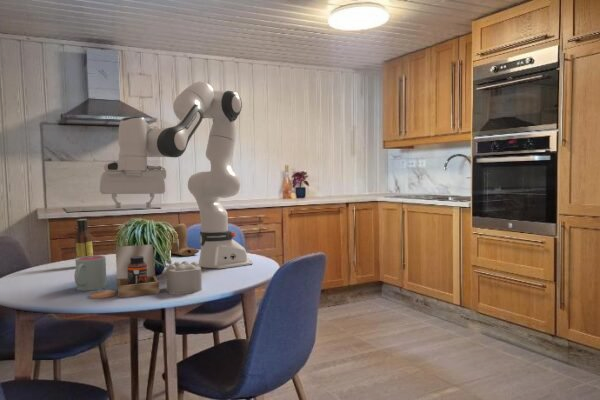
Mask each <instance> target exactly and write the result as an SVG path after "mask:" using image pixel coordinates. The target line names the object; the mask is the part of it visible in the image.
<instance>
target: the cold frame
mask: <svg viewBox="0 0 600 400" xmlns="http://www.w3.org/2000/svg"><path fill="white" fill-rule="evenodd" d="M153 246H154V245H153V244H141V245H139V244H138V245H126V246H125V245H123V246H115V265H116V267H115V268H116V287H117V295H118V298H126V297H135V296H144V295H153V294H154V295H155V294H160V283H159V280H158V279H157V277H156V269H155V258H154V247H153ZM133 256H143V258H144V260H143V261H144V262H145V263H146V264H147V283H141V284H131V285H128V265H129V264H130V262H131V261H130V258H131V257H133Z"/></svg>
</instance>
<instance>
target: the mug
mask: <svg viewBox="0 0 600 400" xmlns="http://www.w3.org/2000/svg"><path fill="white" fill-rule="evenodd" d="M106 261H107V259H106V256H104V255H93V256H85V257H80V258H77V257H76V258H75V270H74V282H75V284H76V290H77V291H85V292H87V291H95V290H96V291H98V290H100V289H101V290H102V289H104V288H106V287H107V267H106V265H107V263H106Z"/></svg>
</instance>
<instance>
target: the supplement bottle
mask: <svg viewBox="0 0 600 400" xmlns="http://www.w3.org/2000/svg"><path fill="white" fill-rule="evenodd" d="M143 260H144V258H143V256H133V257H131V258H130V261H131V262H130V264H129V265H128V285H131V284H141V283H147V264H146V263H145V262H144V261H143Z"/></svg>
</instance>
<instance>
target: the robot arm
mask: <svg viewBox="0 0 600 400" xmlns="http://www.w3.org/2000/svg"><path fill="white" fill-rule="evenodd" d="M172 105H173V106H172V109H173V112H174V114H175V116H176V118H177V119H178V120H179V121H178V123H177V124H176V125H174V126H170V127H165V128H163V127H162V128H154V127H153V126H151V125H150V124H149V123H148V122H147V121H146V119H145V117H143V116H139V115H137V116H131V117H130V116H128V117H127V116H126V117H123V118H121V120H120V122H119V124H118V125H119V126H118V137H117V138H118V139H117V140H118V141H117V142H118V146H119V153H118V160H114V161H112V162H108V163H105V164H104V165H103V170H104V172H102V174H101V176H100V180H99V192H100V193H101V194H102V195H111V198H112V200H113V201H114V203H115V209H121V208H122V206H121V204H122V203H121V202H119V201H118V200H117V197H118V195H122V194H123V195H127V194H128V195H131V194H132V195H133V194H134V195H137V194H138V195H140V194H141V195H143V194H144V195H145V194H147V195H148V194H149V198H150V200H149V201H146V203H145V205H146V207H145V208H146V209H147V208H148V209H149V208H150V209H151V208H152V202H153V200H154V199H155V194H157V195H159V194H160V195H161V194H164V193H166V183H165V179H166V178H167V170H166V169H165V168H164V167H162V166H161V165H155V166H154V165H148V158H166V157H167V158H174V159H175V158H179V157H181V156H182V155H183V154H184V153H185V152H186V149H187V147H188V144H189V142H190V140H191V138H192V136H193V135H194V134H195V132H196V131H197V129H198V128H199V126H200V125H201V123H202V121H203V119H211V120H212V124H211V128H210V132H209V135H208V139H207V144H206V150H205V157H206V158H207V160H208V161H209V162H210V171H200V172H197V173H194V174H192V175H191V176H190V177H189V178H188V180H187V189H188V191H189V193H190V194H192V196H193V197H194V199H195V201H196V203H197V204H196V205H197V206H198V209H199V214H200V232H199V243H200V251H199V260H198V262H197V264H198V266H199V267H201V268H207V269H219V270H221V269H228V268H234V267H242V266H248V265H252V264H253V262H254V261H253V260H252V259H251V258H248V253H247V250H246V248H245V247H244V246H243V245H241V244H240V243H238V242H237V241H236V240H234V239H233V238H235V237H236V236H237V234H236V232H234V231H231V230H229V220H228V219H229V218H228V217H229V216H228V215H229V214H228V211H227V210H226V208H224V206H223V205H222V203H221V201H220V199H227V198H231V197H234V196H236V195H238V193H239V191H240V189H241V181H240V177H239V176H238V175H237V174H236V173H235V169H234V166H233V156H234V150H235V144H236V140H237V139H236V138H237V121H236V120H237V119H238V117H239V115H240V114H241V111H242V107H243V101H242V98H241V97H240V95H239V94H238V92H236V91H233V90H232V91H231V90H213V87H212V86H211V84H209V83H207V82H205V81H201V80H200V81H196V82H194V83H192V84H191V85H189V86H188V87H186V88H185V89H184V90H183V91H181V93H179V94H178V96H176V98H175V99H174V100H173V104H172Z"/></svg>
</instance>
